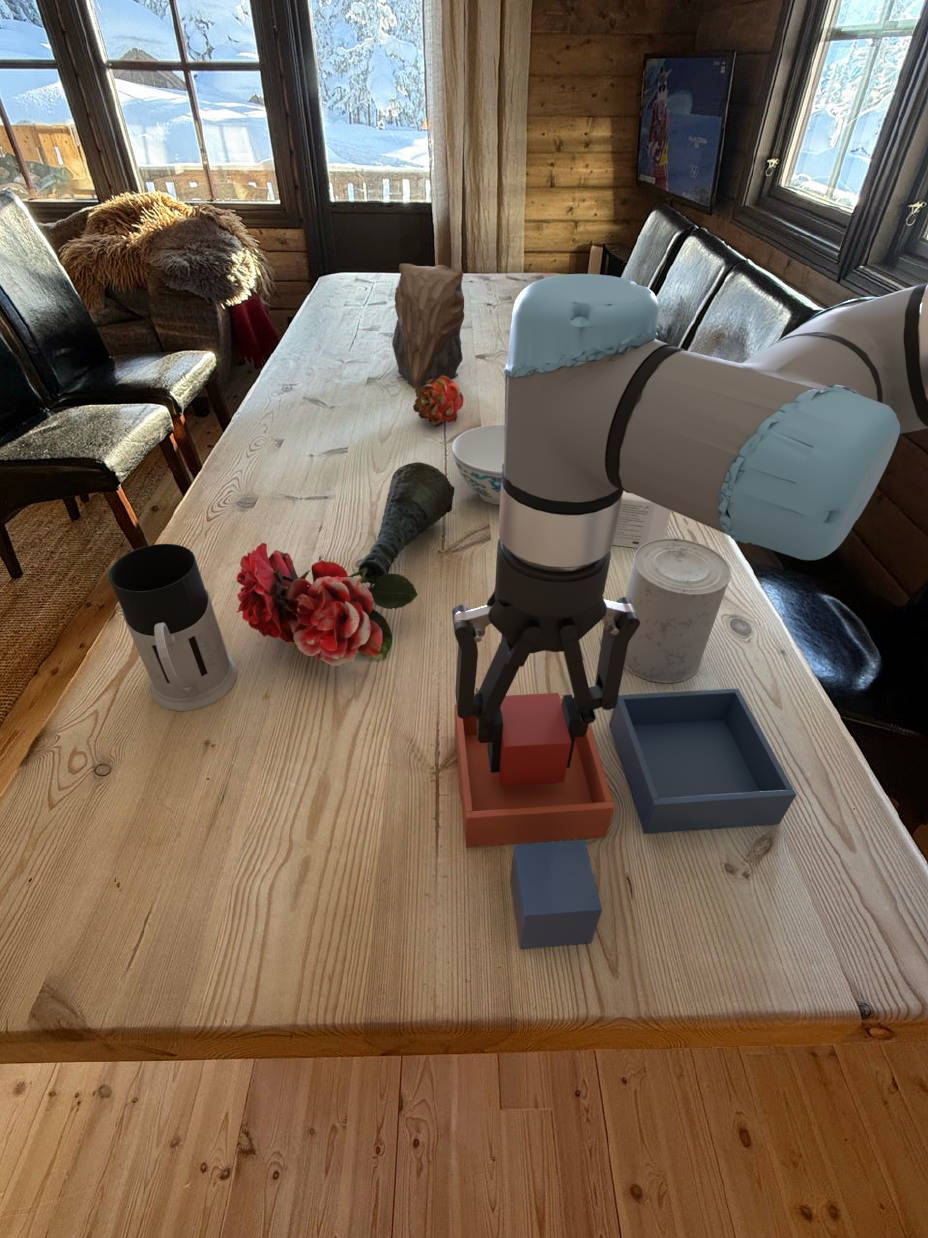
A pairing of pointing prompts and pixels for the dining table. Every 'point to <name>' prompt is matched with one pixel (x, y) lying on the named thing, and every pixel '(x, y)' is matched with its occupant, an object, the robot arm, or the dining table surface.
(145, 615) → the glass holder
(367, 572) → the flower vase
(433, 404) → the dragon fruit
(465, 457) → the chinaware
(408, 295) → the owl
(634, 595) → the grey tin can
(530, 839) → the red bin
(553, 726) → the red block
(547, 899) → the blue block
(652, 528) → the container
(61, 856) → the dining table surface
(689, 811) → the blue bin
